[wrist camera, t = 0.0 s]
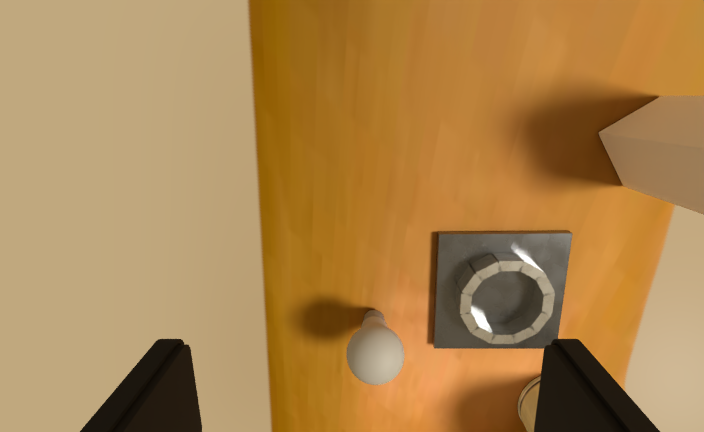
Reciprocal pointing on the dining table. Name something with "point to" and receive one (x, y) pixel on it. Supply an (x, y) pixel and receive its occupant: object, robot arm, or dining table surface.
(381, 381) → the lightbulb
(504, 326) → the ring collar
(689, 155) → the milk carton
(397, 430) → the dining table surface
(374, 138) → the dining table surface
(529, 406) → the coffee can
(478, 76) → the dining table surface
